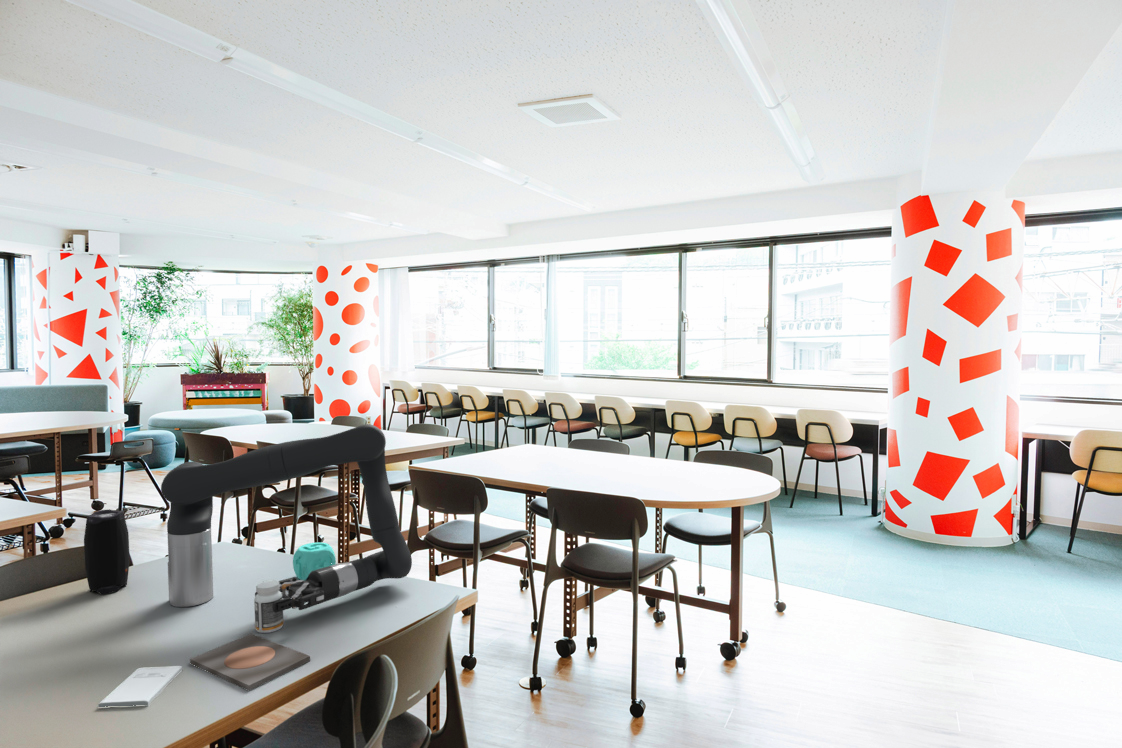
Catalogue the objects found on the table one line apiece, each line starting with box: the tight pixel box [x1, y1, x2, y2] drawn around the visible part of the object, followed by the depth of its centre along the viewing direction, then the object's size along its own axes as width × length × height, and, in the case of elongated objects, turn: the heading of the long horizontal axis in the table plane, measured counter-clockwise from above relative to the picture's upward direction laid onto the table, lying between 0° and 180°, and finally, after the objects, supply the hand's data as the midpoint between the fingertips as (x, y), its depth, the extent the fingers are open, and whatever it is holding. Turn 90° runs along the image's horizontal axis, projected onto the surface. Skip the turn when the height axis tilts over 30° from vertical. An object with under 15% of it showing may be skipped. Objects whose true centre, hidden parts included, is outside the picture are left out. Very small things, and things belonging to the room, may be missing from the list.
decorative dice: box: [292, 541, 337, 580], centre depth 177 cm, size 8×8×8 cm
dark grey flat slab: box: [189, 633, 311, 691], centre depth 131 cm, size 19×13×1 cm
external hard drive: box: [97, 665, 183, 707], centre depth 121 cm, size 2×8×12 cm
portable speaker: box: [83, 509, 131, 596], centre depth 168 cm, size 9×9×20 cm
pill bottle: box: [253, 579, 284, 634], centre depth 146 cm, size 6×6×10 cm
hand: (264, 602), depth 145 cm, fingers open, 8 cm apart
